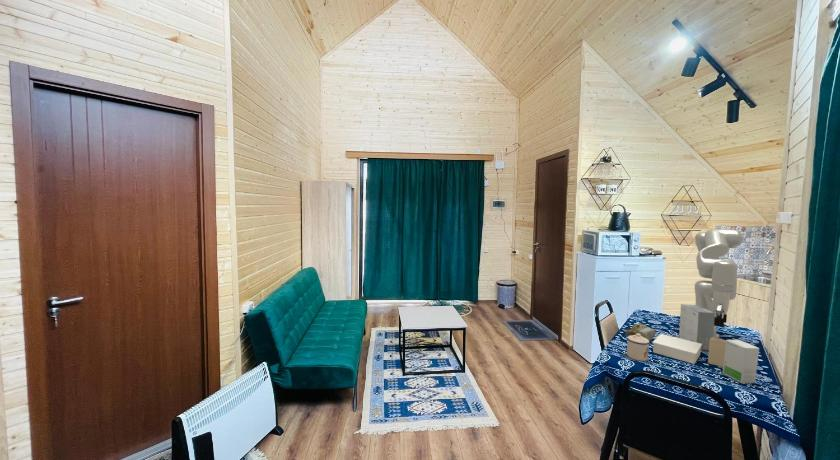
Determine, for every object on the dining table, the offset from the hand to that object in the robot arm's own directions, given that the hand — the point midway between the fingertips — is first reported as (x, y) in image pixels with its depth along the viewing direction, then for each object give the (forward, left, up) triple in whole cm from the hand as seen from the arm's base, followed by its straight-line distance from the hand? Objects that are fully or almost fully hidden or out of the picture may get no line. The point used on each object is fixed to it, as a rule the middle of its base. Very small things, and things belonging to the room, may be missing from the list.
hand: (720, 324), depth 148 cm
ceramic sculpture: (-10, -33, -20) cm, 40 cm away
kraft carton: (0, 0, -19) cm, 19 cm away
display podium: (+1, -15, -19) cm, 24 cm away
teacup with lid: (+20, -27, -19) cm, 39 cm away
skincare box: (+11, +8, -19) cm, 23 cm away
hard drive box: (-20, -11, -19) cm, 30 cm away
